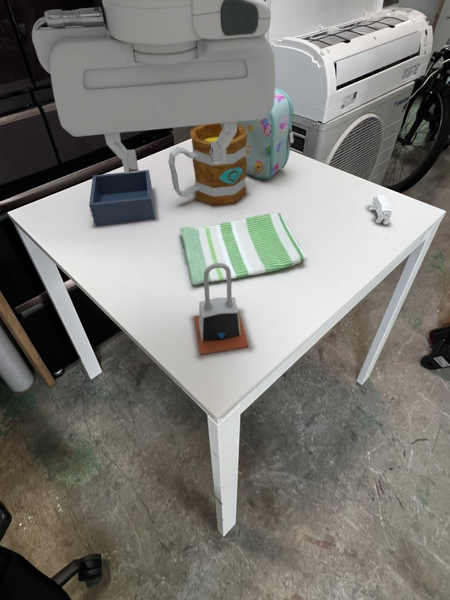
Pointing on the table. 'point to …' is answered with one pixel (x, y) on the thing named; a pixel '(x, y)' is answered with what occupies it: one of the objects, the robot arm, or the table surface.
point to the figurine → (381, 209)
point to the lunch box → (269, 138)
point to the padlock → (218, 311)
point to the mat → (221, 341)
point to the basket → (121, 198)
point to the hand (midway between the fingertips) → (175, 165)
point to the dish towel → (241, 247)
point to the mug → (214, 167)
